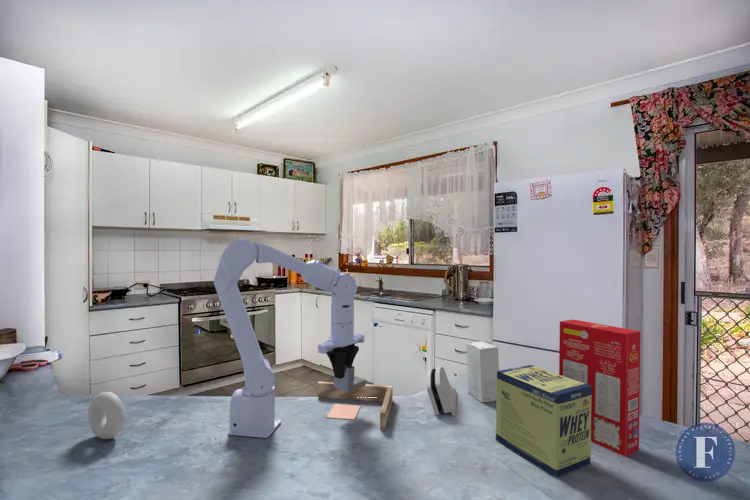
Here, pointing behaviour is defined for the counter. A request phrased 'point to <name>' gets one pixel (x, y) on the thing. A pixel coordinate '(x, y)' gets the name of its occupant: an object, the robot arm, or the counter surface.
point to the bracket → (348, 380)
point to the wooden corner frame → (378, 391)
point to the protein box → (544, 418)
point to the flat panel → (344, 411)
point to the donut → (106, 415)
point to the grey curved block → (441, 392)
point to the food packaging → (605, 379)
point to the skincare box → (482, 370)
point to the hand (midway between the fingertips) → (342, 376)
